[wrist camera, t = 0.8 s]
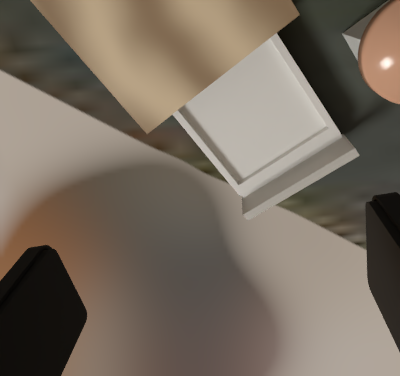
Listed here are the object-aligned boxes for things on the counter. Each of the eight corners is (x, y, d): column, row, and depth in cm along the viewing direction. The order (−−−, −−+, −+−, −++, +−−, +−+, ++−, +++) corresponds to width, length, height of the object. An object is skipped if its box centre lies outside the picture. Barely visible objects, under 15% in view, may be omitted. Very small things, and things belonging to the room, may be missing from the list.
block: (402, -11, 27) (434, -12, 23) (429, 45, 29) (464, 53, 24) (342, 33, 29) (361, 40, 24) (370, 83, 31) (393, 98, 26)
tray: (256, -3, 27) (259, -3, 24) (347, 140, 32) (359, 155, 29) (151, 85, 31) (142, 95, 28) (246, 201, 36) (247, 220, 33)
